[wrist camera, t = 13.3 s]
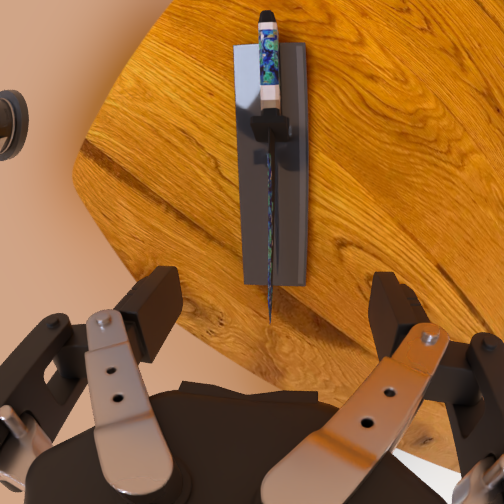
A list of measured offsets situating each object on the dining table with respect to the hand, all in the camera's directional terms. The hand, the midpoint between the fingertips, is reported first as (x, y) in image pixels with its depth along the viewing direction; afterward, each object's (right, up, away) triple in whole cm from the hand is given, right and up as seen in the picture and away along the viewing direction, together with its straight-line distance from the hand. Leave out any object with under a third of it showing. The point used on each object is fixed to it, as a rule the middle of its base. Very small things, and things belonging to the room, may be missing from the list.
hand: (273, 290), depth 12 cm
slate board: (+1, +10, +19) cm, 22 cm away
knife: (+1, +9, +17) cm, 20 cm away
